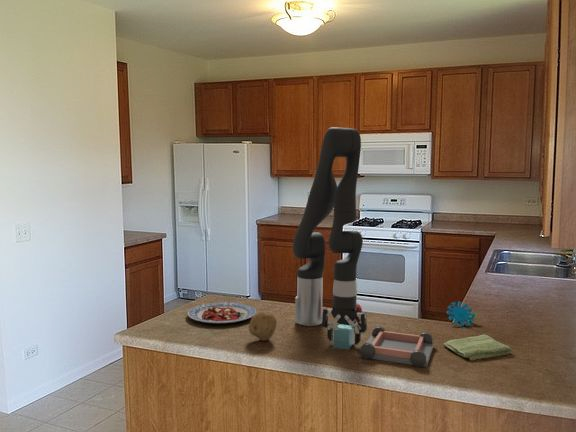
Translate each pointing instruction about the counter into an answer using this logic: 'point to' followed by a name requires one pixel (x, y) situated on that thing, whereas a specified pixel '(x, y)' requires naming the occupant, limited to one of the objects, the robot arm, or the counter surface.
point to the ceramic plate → (222, 312)
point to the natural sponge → (263, 325)
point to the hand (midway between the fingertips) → (343, 342)
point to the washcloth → (477, 347)
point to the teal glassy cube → (343, 337)
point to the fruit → (359, 310)
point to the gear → (461, 314)
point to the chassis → (398, 347)
